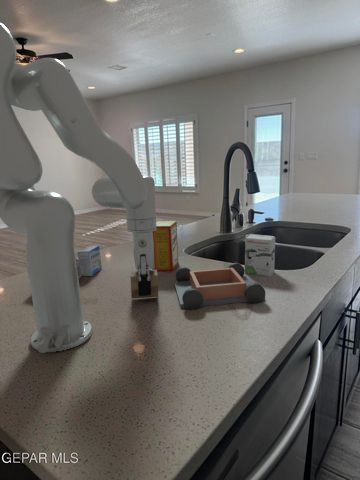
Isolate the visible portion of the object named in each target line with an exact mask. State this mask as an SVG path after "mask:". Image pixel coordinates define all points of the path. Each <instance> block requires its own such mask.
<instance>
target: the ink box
mask: <svg viewBox="0 0 360 480" xmlns="http://www.w3.org/2000/svg"><path fill="white" fill-rule="evenodd" d="M244 242H245V243H244V247H245V248H244V270H245V273H244V274H250V275H251V274H252V275H257V276H266V277H271V276H272V275H273V274H274V273H275V258H276V257H275V255H276V237H275V236H273V235H265V234H264V235H263V234H254V233H251V234H248V235H247V236H246V237H245V239H244Z"/></svg>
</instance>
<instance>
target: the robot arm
mask: <svg viewBox="0 0 360 480" xmlns="http://www.w3.org/2000/svg"><path fill="white" fill-rule="evenodd" d="M17 53H18V52H17V45H16V43H15V39H14V37H13V35H12V34H11V32H10V30H9V29H8V28H7V26H5V25H4V24H3V23H2V22H1V21H0V220H1V221H2V222H3V224H5V226H6V227H7V228H9V229H10V230H11V231H13V232H15V233H18V234H20V235H25V237H26V242H25V243H26V244H25V264H26V271H27V275H28V280H29V288H30V292H31V293H30V294H31V301H32V305H33V313H34V319H35V324H36V325H35V326H36V330H35V332H33V333H32V335H31V337H30V344H31V346H32V348H33V349H34V350H36V351H38V352H39V353H40V354H45V353H57V352H56V351H59V352H63V350H64V351H67V349H68V350H71V349H73V347H74V348H76V347H78V346H80V345H82V344H83V343H85V342H86V341H87V340H89V339H90V337H91V335H92V334H93V327H92V324H91V323H90V322H89V321H87V320H84V315H83V314H84V313H83V305H82V298H81V297H82V296H81V290H80V282H79V277H78V272H77V265H76V259H77V256H76V248H75V246H76V245H75V231H76V213H75V210H74V208H73V206H72V204H71V203H70V201H69V200H68V199H67V198H66V197H64V196H63V195H62V194H59V193H57V192H55V191H51V190H50V191H49V190H36V189H35V186H36V185H37V184H38V183H39V182H40V181H41V180H42V179H41V178H42V177H43V165H42V162H41V159H40V157H39V155H38V154H37V152H36V150H35V148H34V146H33V145H32V142H31V141H30V139H29V138H28V136H27V134H26V132H25V130H24V128H23V127H22V125H21V123H20V121H19V119H18V117H17V115H16V114H15V111H14V109H13V107H12V106H14V107H16V108H19V109H21V110H22V109H23V110H25V111H26V110H27V111H31V112H38V111H39V112H40V111H42V113H43V114H44V116H45V118H46V120H48V122H49V123H50V126H51V127H52V128H53V130H54V132H55V133H56V135H57V136H58V138H59V139H60V141H61V143H62V145H63V146H64V147H65V149H67V150H68V151H70V152H72V153H73V154H74V155H76V156H78V157H81V158H83V159H85V160H87V161H89V162H90V163H93V164H94V165H96V167H99V169H101V170H102V172H104V173H105V175H106V176H101V177H100V178H98V179H97V180H96V181H95V182H94V183H93V185H92V188H91V195H92V197H93V200H94V201H95V202H96V203H97V204H98V205H100V206H102V207H105V208H110V209H124V210H125V213H126V228H127V230H126V231H127V232H129V233H131V236H132V250H133V251H132V252H133V260H134V264H135V265H134V266H135V271H139V281H138V289H139V296H148V295H151V280H150V277H149V269H150V270H154V268H155V265H154V242H153V232H152V231H155V230H157V229H156V222H157V206H156V205H157V204H156V186H155V178H153V177H152V176H149V175H143V173H142V172H141V171H140V168H139V166H138V165H137V162H136V161H135V159H134V158H133V157H132V155H131V154H130V153H129V152H128V151H127V150H126V149H125V147H123V146H122V145H121V144H119V142H118V141H116V140H115V139H114V138H113V137H112V136H111V135H110V134H108V133H107V132H106V131H105V130H103V129H102V127H101V126H100V124H99V123H98V121H97V119H96V117H95V115H94V114H93V112H92V109H91V108H90V106H89V105H88V103H87V101H86V99H85V97H84V95H83V93H82V92H81V90H80V88H79V86H78V85H77V83H76V81H75V79H74V77H73V76H72V74H71V73H70V70H69V68H68V67H67V66H66V65H65V64H64V63H63V62H61V61H60V60H59V59H57V58H54V57H53V58H52V57H42V58H39V59H35V60H32V61H31V62H29V63H27V64H20V63H19V62H16V61H17ZM140 268H141V269H140ZM146 268H148V269H146ZM146 271H147V273H146ZM147 277H148V278H147ZM70 348H71V349H70Z"/></svg>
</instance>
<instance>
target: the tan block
mask: <svg viewBox="0 0 360 480" xmlns="http://www.w3.org/2000/svg"><path fill="white" fill-rule="evenodd" d="M140 269H141V268H140ZM146 269H148V268H146ZM146 273H147V271H146ZM158 276H159V275H158V272H157V270H152V269H150V268H149V277H150V280H151V295H148V296H139V289H138V281H139V271H138V270H130V291H131V292H130V294H131V299H132V300H133V299H146V298H147V299H149V298H159V281H158V279H159V278H158ZM147 278H148V277H147Z"/></svg>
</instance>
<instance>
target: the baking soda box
mask: <svg viewBox="0 0 360 480" xmlns="http://www.w3.org/2000/svg"><path fill="white" fill-rule="evenodd" d="M177 227H178V226H177V220H158V221H156V229H157V230H155V231H152V232H153V242H154V265H155V268H154V270H157V273H158V272H159V273H160V272H162V273H163V272H164V273H167V272H168V273H173V272H174V271H175V269H176V268H177V267H178V265H179V264H180V263H179V248H178V247H179V245H178V244H179V243H178V229H177Z"/></svg>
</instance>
